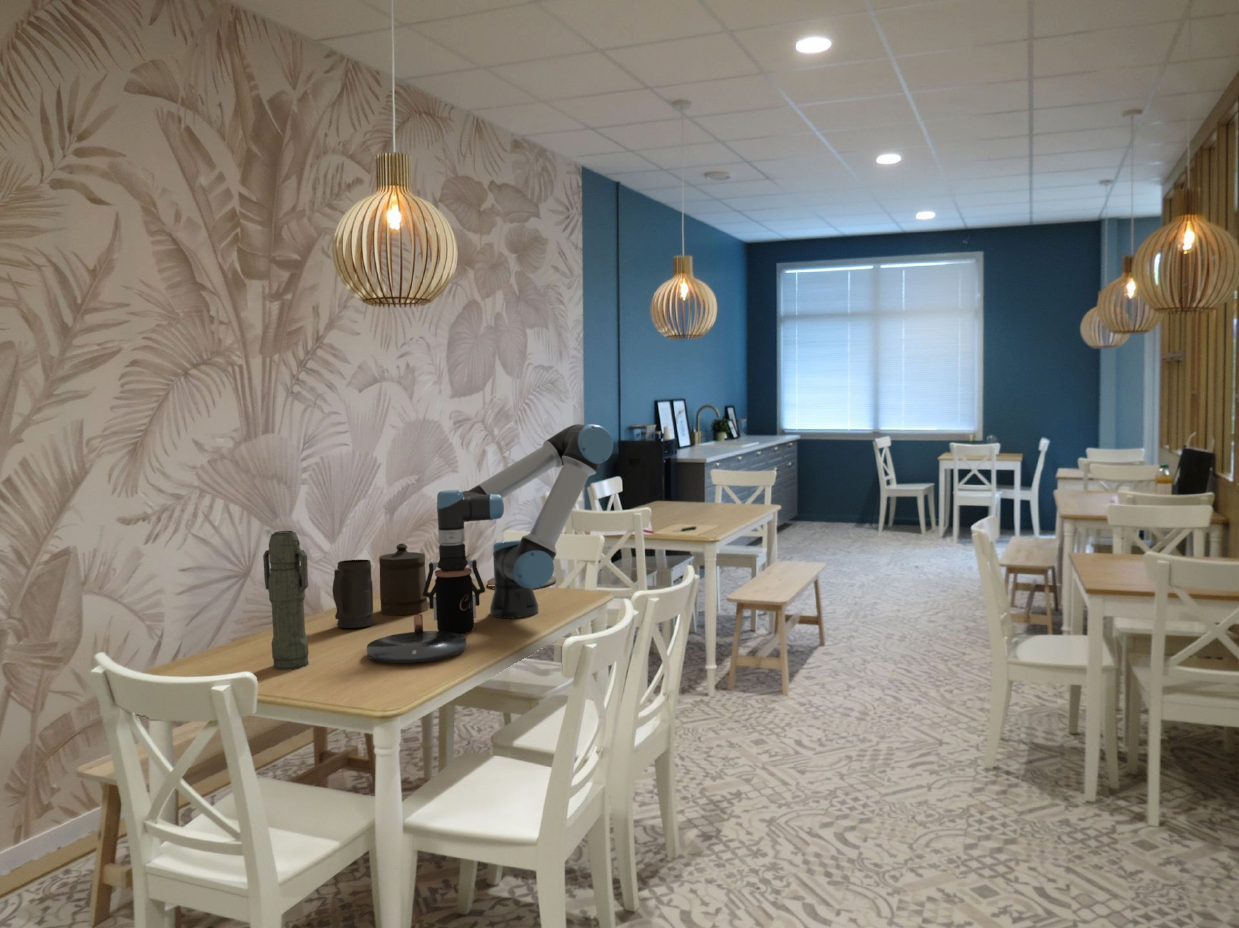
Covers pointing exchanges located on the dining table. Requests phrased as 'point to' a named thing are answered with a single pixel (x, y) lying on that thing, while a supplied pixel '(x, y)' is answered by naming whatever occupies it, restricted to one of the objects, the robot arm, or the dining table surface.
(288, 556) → the thermos
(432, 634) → the disc
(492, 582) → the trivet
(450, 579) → the coffee jar
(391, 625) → the dining table surface
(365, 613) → the beer stein
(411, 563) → the wooden container
